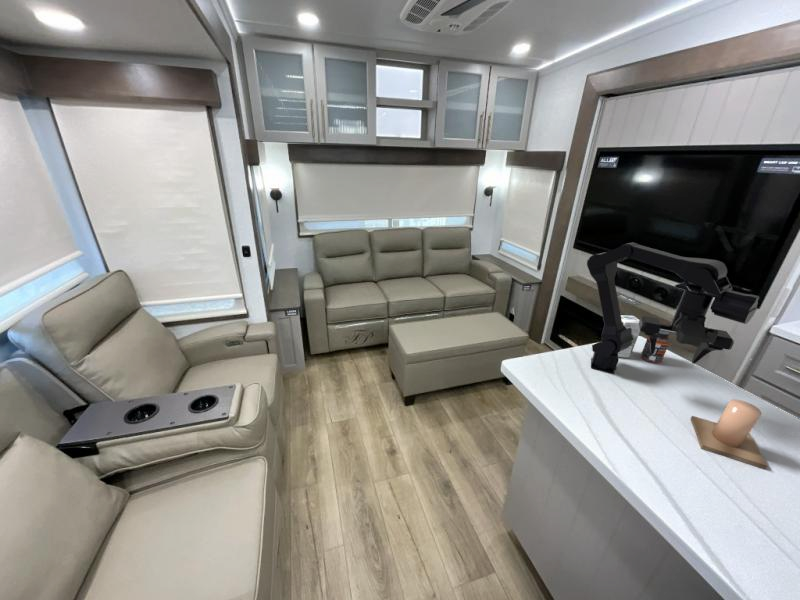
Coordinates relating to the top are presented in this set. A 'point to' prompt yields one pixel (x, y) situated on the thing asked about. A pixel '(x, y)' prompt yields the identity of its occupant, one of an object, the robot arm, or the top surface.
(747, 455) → the walnut serving board
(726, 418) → the peach rounded cylinder
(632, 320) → the syrup box
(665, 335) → the supplement bottle
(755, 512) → the top surface
